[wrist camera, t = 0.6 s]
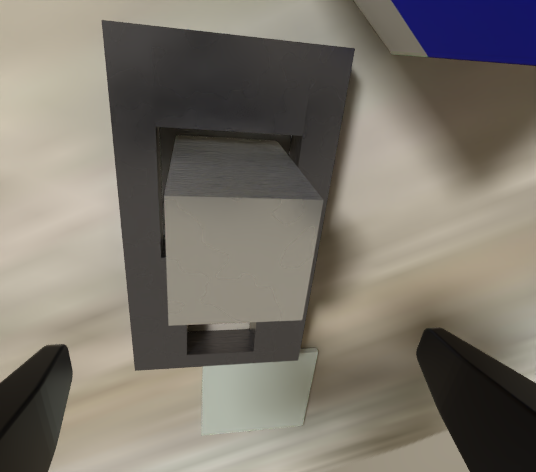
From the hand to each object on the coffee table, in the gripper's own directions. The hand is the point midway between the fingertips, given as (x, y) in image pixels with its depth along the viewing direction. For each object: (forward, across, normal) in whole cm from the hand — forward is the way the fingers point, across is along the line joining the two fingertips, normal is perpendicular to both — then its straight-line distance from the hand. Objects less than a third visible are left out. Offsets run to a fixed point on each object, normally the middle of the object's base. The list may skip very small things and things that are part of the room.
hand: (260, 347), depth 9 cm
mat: (+12, -3, +16) cm, 20 cm away
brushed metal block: (+12, 0, 0) cm, 12 cm away
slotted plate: (+12, 0, +2) cm, 12 cm away
